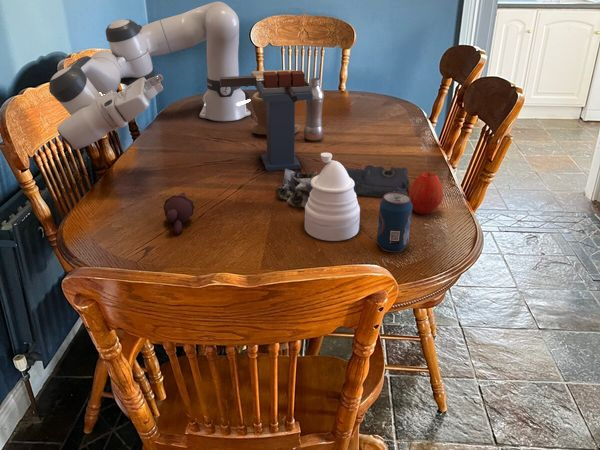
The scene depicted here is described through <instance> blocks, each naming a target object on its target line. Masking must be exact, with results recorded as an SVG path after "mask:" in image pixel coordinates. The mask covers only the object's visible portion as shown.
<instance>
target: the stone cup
mask: <svg viewBox="0 0 600 450" xmlns="http://www.w3.org/2000/svg"><path fill="white" fill-rule="evenodd" d="M251 106H252V109H253V113H254V115H255V117H256V119H257V124H256V125H255V126H253V128H252V133H253V134H255V135H262V136H267V121H266V102H264V101H263V100H262V98H261V96H260V94H259V93H258V91H257V92H254V93H253V94H252V96H251ZM300 127H301V126H300V124H297V123H295V134H297V132H299V130H300Z"/></svg>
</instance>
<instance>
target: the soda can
mask: <svg viewBox="0 0 600 450" xmlns="http://www.w3.org/2000/svg"><path fill="white" fill-rule="evenodd" d="M410 199H411V198H410V196H409V194H405V193H401V192H389V193H386V194H384V196H383V197H382V199H381V201H380V202H379V210H378V211H379V212H378V222H377V233H376V241H377V244H378V246H379V248H380V249H382V250H383V251H385V252H388V253H400V252H402V251H404V250H405V249H406V247H408V245H409V240H410V239H409V238H410V232H411V222H412V216H413V208H412V203H411V201H410Z"/></svg>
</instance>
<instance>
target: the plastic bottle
mask: <svg viewBox="0 0 600 450" xmlns="http://www.w3.org/2000/svg"><path fill="white" fill-rule="evenodd" d="M308 83H309V84H310V85H311V86H312V93H313V100H304V106H305V121H304V127H303V136H304V138H305V139H306V140H307V141H319V140H321V139H323V135H324V128H323V118H322V117H323V116H322V115H323V105H324V99H325V94H324V91H323V89H322V88H321V87H320V86H321V78H320V77H310V78H309V77H308Z"/></svg>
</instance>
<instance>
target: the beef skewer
mask: <svg viewBox="0 0 600 450" xmlns="http://www.w3.org/2000/svg"><path fill="white" fill-rule="evenodd" d="M305 74H306V73H305V72H303V70H296V71H290V72H289V71H277V74H276V73H275V72H263V79H257V78H256V76H251V75H239V76H233V77H220V86H221V87H239V86H241V87H246V86H248V87H255V86H257V82H263V85H264V87H265V88H277V86H278V87H279V88H282V87H291V86H292V87H304V83H305V80H306V81H307V78H306V77H305V76H306V75H305Z"/></svg>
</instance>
